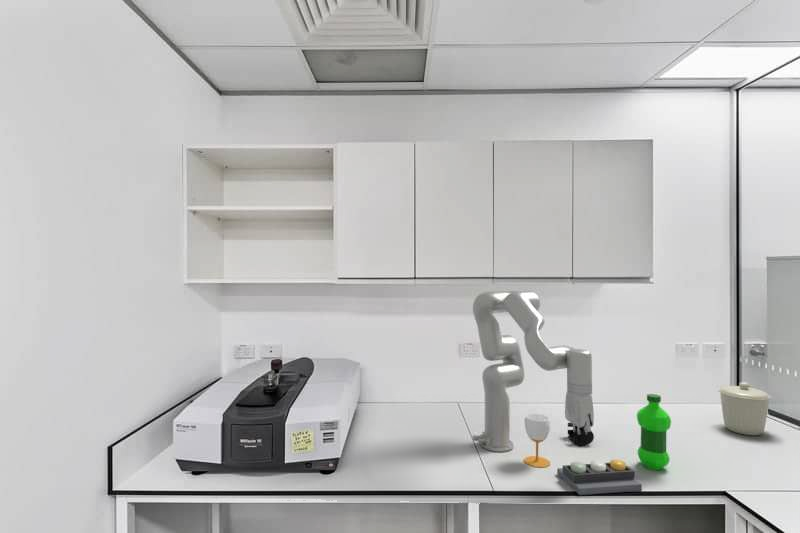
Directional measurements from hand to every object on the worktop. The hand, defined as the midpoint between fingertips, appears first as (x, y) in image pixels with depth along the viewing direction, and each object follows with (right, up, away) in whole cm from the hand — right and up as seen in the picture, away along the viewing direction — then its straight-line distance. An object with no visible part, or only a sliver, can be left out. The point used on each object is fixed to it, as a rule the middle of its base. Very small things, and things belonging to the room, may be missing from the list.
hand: (580, 445), depth 147 cm
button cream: (+6, -9, +2) cm, 11 cm away
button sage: (0, -9, +1) cm, 9 cm away
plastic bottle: (+31, -13, +14) cm, 36 cm away
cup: (-9, -13, +17) cm, 23 cm away
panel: (+6, -13, +2) cm, 14 cm away
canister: (+89, -13, +49) cm, 103 cm away
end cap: (+14, -13, +36) cm, 41 cm away
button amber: (+13, -9, +3) cm, 16 cm away
